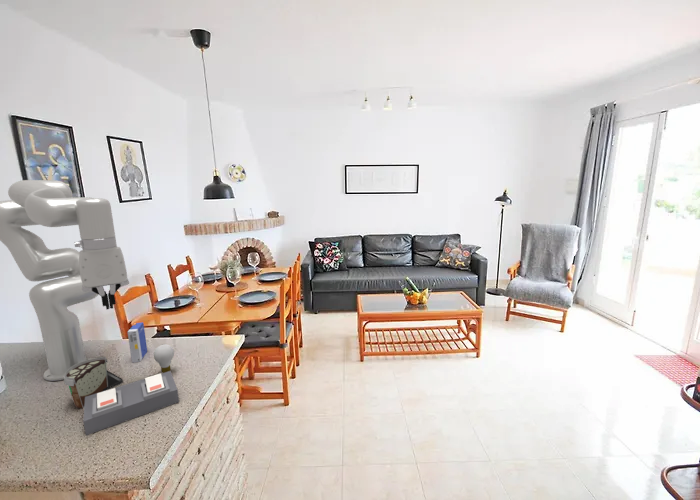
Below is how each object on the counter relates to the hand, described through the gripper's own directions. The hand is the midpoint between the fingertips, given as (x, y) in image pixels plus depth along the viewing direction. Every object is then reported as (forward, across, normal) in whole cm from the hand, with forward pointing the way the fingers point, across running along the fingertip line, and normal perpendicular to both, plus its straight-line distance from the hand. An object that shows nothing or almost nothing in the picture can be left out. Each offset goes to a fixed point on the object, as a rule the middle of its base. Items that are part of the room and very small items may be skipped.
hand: (109, 307), depth 93 cm
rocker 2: (+22, +8, -11) cm, 25 cm away
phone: (+28, -6, +12) cm, 31 cm away
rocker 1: (+22, -4, -11) cm, 24 cm away
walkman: (+27, +6, +22) cm, 36 cm away
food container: (+27, -9, +4) cm, 29 cm away
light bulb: (+27, +12, +4) cm, 30 cm away
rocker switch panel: (+27, +2, -9) cm, 29 cm away
